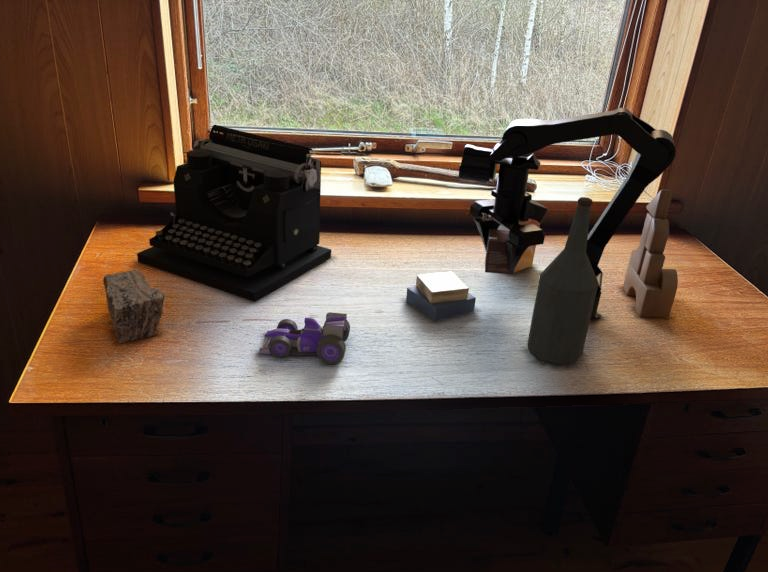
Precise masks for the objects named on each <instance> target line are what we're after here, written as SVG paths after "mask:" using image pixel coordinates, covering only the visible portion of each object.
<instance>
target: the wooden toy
mask: <svg viewBox="0 0 768 572" xmlns="http://www.w3.org/2000/svg"><path fill="white" fill-rule="evenodd" d="M673 195H674V190H672V189H661V190H659V191H658V192H657V194H656V195H655V196H654V197H653V198H652V199H651V200H650V201H649V202H648V204H647V205H646V206H645V209H646V210H647V211H648V212H647V213H646V216H645V220H644V224H643V228H642V232H641V236H640V240H639V244H638V246H637V248H636V249H632V250H631V252H630V257H629V261H628V264H627V267H626V273H625V277H624V280H623V284H622V289H623V291H624V293H625V294H626V295H627V296H635V307H634V309H635V311H636V313H637V315H638V316H639V317H640V318H666V319H667V318H668V319H669V318H670V315H671V311H672V308H673V304H674V301H675V298H676V295H677V291H678V284H679V277H678V271H677V269H676V268H663V267H664V265H665V260H666V255H665V254H664V252H665V250H666V245H667V242H668V238H669V235H670V222H669V219H668V218H667V217H668V213H669V211H670V206H671V203H672V199H673Z"/></svg>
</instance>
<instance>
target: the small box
mask: <svg viewBox="0 0 768 572" xmlns="http://www.w3.org/2000/svg"><path fill="white" fill-rule="evenodd" d="M519 224H521V225H525V224H534V225H535V226H537V227H539V228H540V227H541V223H539V222H538V221H536V220H533V219H530V218H529V219H528V221H525V222H523V221H520V223H519ZM497 230H505V231H510V230H509V229H508V228H506V227H505V226H502V225H500V226H499V227H498V229H497ZM536 247H537V245H533V246H530V247H528V248H527V249H526V251H525V252H524V253H523V255H522V257H521V258H520V260H519V262H518V264H517V265H516V267H515V270H514V273H517V272H520V271H522V270H525V269H527V268H531V267H533V263H534V258H535V253H536Z"/></svg>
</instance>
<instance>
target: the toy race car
mask: <svg viewBox="0 0 768 572" xmlns="http://www.w3.org/2000/svg"><path fill="white" fill-rule="evenodd" d="M347 317H348V314H347V313H343V312H342V313H341V312H327V313H326V314H325V321H324V322H323V326H321V325H320V324H319V322H318V321H317V320H316V319H315V318H314V317H305V318H304V320H303V321H304V327H303V328H300V329H299V327H298V324H297V323H296V322H295V321H294V320H292V319H290V318H283V319H281V320H280V321H279V322H278V323H277V325H276V328H274V329H271V330H267V331H266V333H264V334H263V336H264V338H266V340H265V342H264V345H263V347H260V348H259V354H260V355H273V356H274V357H277V358H285V357H288V356H289V355H290V356H317V358H318V360H319V361H321V362H322V363H324V364H326V365H331V366H333V365H337V364H339V363H341V362H342V361H343V360H344V358H345V354H346V348H347V345H346V343H345V342H346V341H347V340H348V338H349V336H350V332H351V324H350V322H349V320H348V318H347Z"/></svg>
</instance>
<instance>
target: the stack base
mask: <svg viewBox="0 0 768 572" xmlns="http://www.w3.org/2000/svg"><path fill="white" fill-rule="evenodd" d="M476 299H477V298H476V297H475V296H474V295H472V294H471V293H469V292H468V299H465V300H457V301H448V302H439V303H430V302H429V301H428V299H427V298H426V297H425V296H424V295H423V294H422V292H421V291H420V290H419V289H418V288H417V287H416V285H413V286H409V287H406V297H405V301H406V302H407V303H408V304H410V305H411V306H413V307H414V308H416V309H417V310H418V311H420V312H421V313H423V314H424V315H425V316H427V317H428V318H430V319H431V320H433V321H434V322H438V321H442V320H445V319H451V318H453V317H457V316H459V315H463V314H467V313H470V312H473V311H475V307H476Z"/></svg>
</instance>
